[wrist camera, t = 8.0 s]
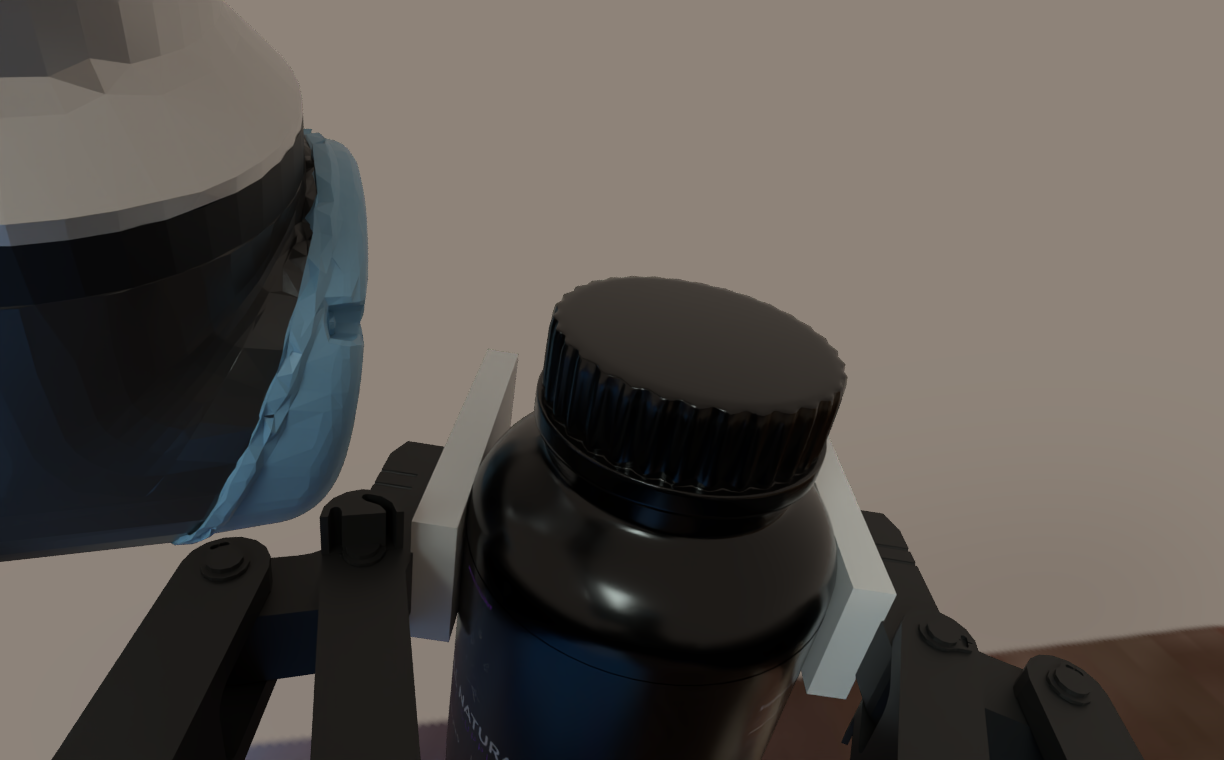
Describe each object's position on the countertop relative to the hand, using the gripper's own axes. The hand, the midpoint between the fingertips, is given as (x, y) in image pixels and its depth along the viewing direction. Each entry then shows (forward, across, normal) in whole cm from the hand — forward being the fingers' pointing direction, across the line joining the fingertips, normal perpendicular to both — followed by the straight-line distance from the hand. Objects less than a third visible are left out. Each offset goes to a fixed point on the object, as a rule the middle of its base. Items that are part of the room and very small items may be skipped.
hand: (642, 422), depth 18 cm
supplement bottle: (-5, 0, -7) cm, 9 cm away
